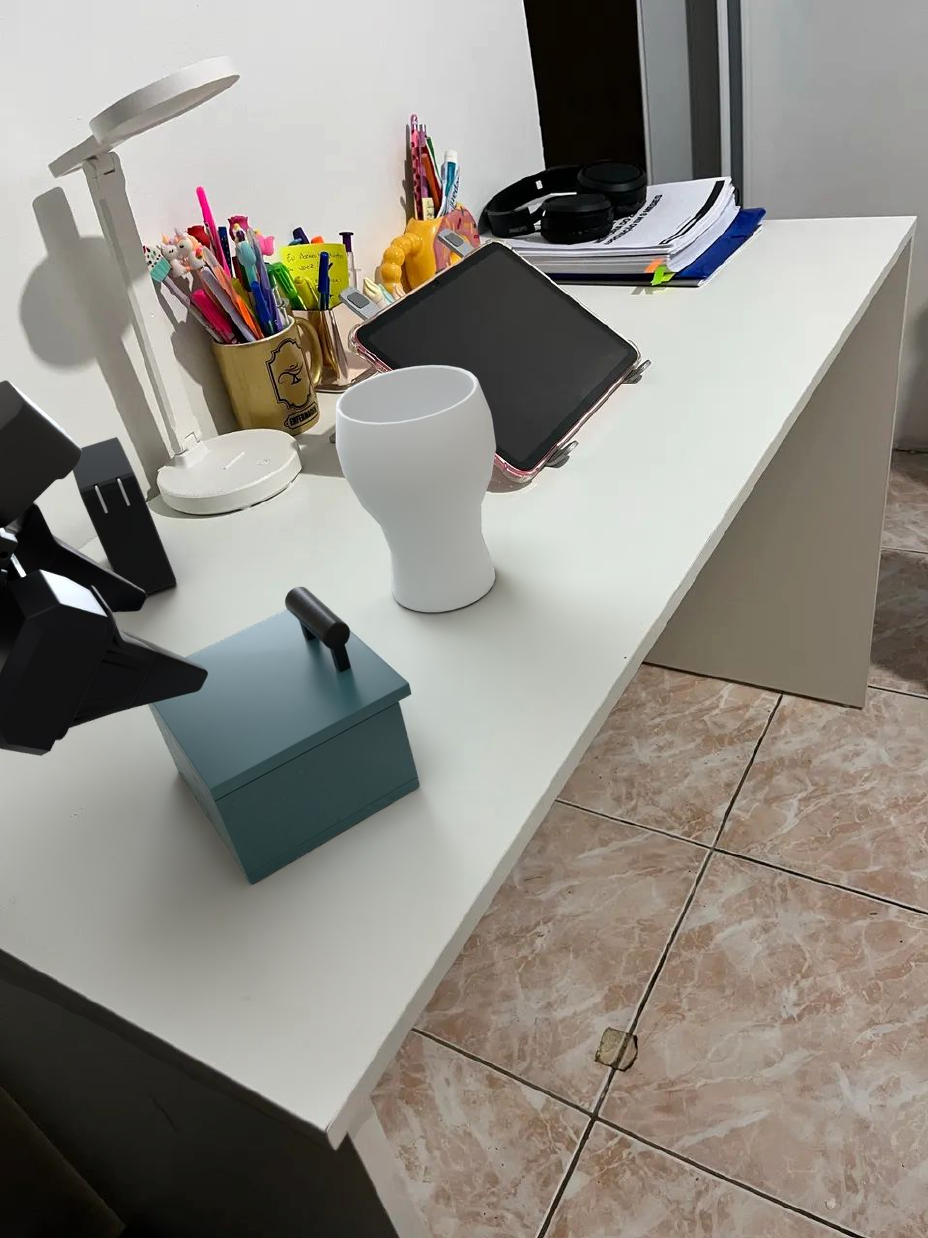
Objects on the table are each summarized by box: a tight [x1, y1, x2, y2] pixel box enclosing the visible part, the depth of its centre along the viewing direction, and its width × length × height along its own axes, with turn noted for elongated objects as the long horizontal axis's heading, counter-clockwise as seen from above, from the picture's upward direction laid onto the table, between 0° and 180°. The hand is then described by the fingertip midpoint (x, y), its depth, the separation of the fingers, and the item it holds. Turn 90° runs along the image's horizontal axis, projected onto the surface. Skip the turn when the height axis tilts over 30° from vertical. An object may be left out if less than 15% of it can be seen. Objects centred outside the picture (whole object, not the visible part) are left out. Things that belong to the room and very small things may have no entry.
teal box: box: [147, 701, 421, 885], centre depth 54 cm, size 11×12×6 cm
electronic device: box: [72, 436, 177, 595], centre depth 77 cm, size 4×10×10 cm, turn 26°
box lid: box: [151, 586, 413, 800], centre depth 51 cm, size 11×12×4 cm
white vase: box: [335, 364, 497, 613], centre depth 66 cm, size 11×11×15 cm
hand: (171, 638), depth 48 cm, fingers open, 9 cm apart
